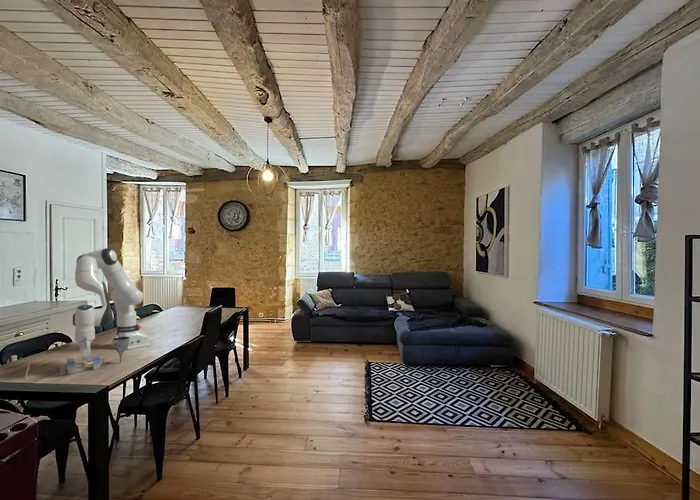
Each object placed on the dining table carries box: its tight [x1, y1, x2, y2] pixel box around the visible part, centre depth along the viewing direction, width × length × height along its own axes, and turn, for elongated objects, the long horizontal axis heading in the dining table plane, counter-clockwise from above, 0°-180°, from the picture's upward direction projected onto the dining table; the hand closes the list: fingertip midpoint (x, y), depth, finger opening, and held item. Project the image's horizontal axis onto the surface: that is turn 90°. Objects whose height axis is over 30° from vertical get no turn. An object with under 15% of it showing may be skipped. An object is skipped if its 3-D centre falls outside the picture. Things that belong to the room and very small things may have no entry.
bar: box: [65, 360, 102, 373], centre depth 198 cm, size 16×3×3 cm, turn 128°
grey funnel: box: [112, 336, 129, 364], centre depth 210 cm, size 8×8×15 cm
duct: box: [59, 353, 108, 377], centre depth 203 cm, size 20×21×5 cm
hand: (84, 362), depth 199 cm, fingers closed
